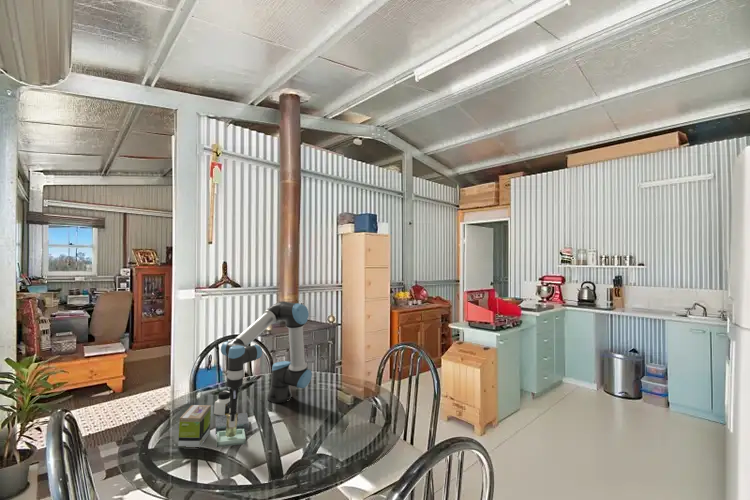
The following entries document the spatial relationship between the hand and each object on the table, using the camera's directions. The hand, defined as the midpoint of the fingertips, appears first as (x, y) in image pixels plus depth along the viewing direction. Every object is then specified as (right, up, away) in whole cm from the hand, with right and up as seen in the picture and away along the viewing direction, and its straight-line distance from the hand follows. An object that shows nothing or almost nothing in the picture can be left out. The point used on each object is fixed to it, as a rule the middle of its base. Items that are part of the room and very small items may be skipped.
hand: (231, 424), depth 188 cm
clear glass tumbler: (0, -5, 0) cm, 5 cm away
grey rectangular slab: (-5, -8, +13) cm, 16 cm away
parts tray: (-1, -8, 0) cm, 8 cm away
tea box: (-17, -7, -3) cm, 19 cm away
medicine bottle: (-16, -7, +29) cm, 34 cm away
